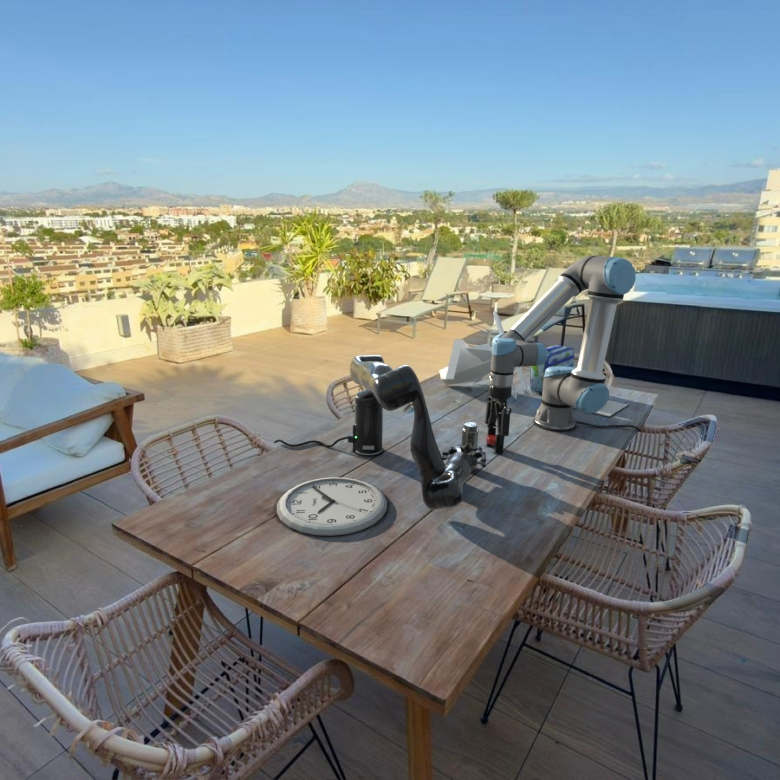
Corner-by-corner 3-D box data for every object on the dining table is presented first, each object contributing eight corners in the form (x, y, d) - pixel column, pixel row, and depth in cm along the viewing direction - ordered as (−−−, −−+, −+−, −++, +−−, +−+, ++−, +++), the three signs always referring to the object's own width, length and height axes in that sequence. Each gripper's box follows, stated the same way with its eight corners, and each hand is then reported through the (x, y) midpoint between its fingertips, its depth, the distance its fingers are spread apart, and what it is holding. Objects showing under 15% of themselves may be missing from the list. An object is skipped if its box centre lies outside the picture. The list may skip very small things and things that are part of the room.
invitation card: (608, 416, 214) (573, 407, 224) (608, 416, 214) (573, 408, 224) (628, 404, 229) (594, 396, 238) (628, 405, 229) (594, 397, 238)
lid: (483, 443, 179) (484, 437, 179) (490, 437, 184) (491, 432, 183) (499, 447, 176) (499, 441, 176) (506, 441, 181) (506, 436, 180)
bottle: (456, 468, 166) (459, 424, 162) (466, 463, 170) (469, 420, 165) (469, 473, 163) (472, 428, 158) (478, 468, 166) (482, 424, 162)
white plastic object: (461, 429, 252) (437, 405, 227) (444, 352, 274) (420, 323, 250) (535, 404, 240) (518, 377, 215) (510, 326, 262) (492, 293, 237)
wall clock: (392, 527, 129) (268, 531, 127) (391, 533, 130) (269, 537, 127) (383, 473, 158) (282, 475, 155) (383, 478, 158) (282, 480, 156)
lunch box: (546, 398, 236) (551, 353, 229) (525, 393, 243) (529, 349, 237) (573, 387, 253) (579, 344, 247) (553, 382, 260) (558, 341, 254)
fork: (400, 411, 216) (400, 406, 215) (412, 399, 230) (412, 395, 230) (406, 412, 215) (406, 407, 215) (418, 400, 230) (418, 396, 229)
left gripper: (483, 461, 148) (494, 439, 163) (434, 453, 153) (449, 433, 168) (481, 485, 150) (492, 461, 165) (433, 476, 155) (448, 454, 170)
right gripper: (478, 377, 182) (473, 439, 188) (503, 394, 164) (496, 461, 171) (498, 376, 183) (492, 438, 190) (524, 392, 166) (517, 459, 173)
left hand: (470, 447), depth 167 cm, fingers closed on bottle, 5 cm apart
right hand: (494, 448), depth 181 cm, fingers closed on lid, 6 cm apart
